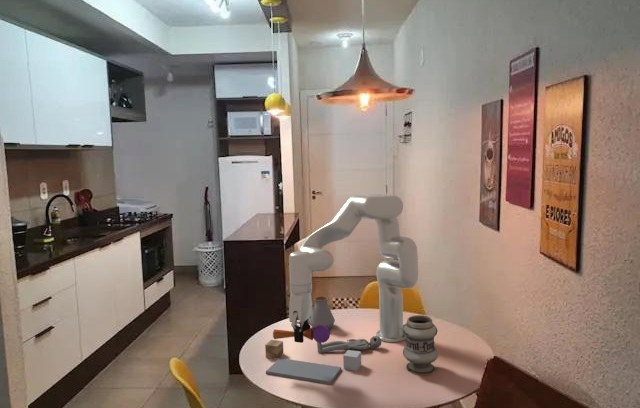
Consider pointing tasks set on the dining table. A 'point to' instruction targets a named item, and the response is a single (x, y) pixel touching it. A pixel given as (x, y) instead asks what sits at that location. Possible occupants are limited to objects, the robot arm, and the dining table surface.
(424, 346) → the apothecary jar
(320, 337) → the kendama
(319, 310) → the coffee pot
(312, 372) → the charcoal mat
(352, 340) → the alien figure
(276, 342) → the walnut block
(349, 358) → the grey block
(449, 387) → the dining table surface
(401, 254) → the robot arm
